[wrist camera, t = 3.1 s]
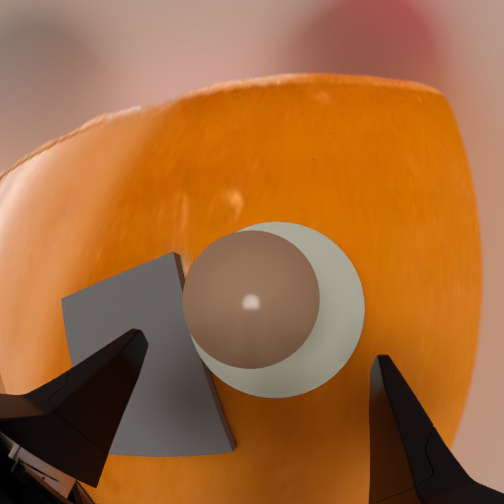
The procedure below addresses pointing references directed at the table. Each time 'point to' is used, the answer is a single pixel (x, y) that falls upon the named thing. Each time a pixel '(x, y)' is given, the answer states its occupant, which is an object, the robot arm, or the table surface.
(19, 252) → the table surface
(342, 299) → the lid
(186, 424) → the mat
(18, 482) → the robot arm
